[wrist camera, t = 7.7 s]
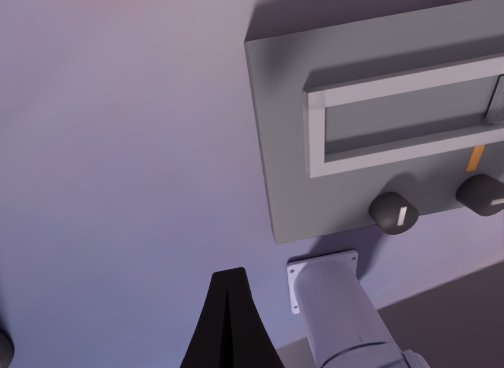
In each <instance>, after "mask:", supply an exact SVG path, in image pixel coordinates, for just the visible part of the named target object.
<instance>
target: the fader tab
mask: <svg viewBox="0 0 504 368" xmlns="http://www.w3.org/2000/svg"><path fill="white" fill-rule="evenodd" d="M485 121H486V122H490V123H494V124H497V125H501V126H504V76H501V78H500V81H499V83H498V86H497V89H496V91H495V94H494V97H493V99H492V102H491V105H490V108H489V110H488V113H487V116H486V118H485Z"/></svg>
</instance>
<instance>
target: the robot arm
mask: <svg viewBox="0 0 504 368" xmlns="http://www.w3.org/2000/svg"><path fill="white" fill-rule="evenodd" d="M357 261H358V252H357V251H356V250H350V251H345V252H340V253H335V254H330V255H326V256H321V257H316V258H311V259H306V260H301V261H296V262H291V263H288V264H287V275H288V284H289V292H290V301H291V309H292V313H294V314H297V313H300V314H301V317H302V321H303V324H304V327H305V331H306V334H307V337H308V341H309V344H310V347H311V351H312V354H313V357H314V360H315V364H316V367H317V368H430V367H429V366H428V364H427V363H426V361H425V360H424V358H423V357H422V356H420V355H419V354H416V353H413V352H412V351H411V350H407V351H404V353H403V352H402V351H401V350H400V349H399V347H398V346H397V345H396V343H395V341H394V340H393V338H392V336H391V335H390V333H389V332H388V330H387V328H386V326H385V324H384V323H383V321H382V320H381V318H380V316H379V314H378V313H377V311H376V309H375V308H374V306H373V304H372V303H371V301H370V299H369V298H368V296H367V294H366V292H365V291H364V289H363V287H362V286H361V284H360V282H359V281H358V279H357V277H356V269H357ZM180 368H285V367H284V365H283V363H282V362H281V360H280V358H279V356H278V354H277V352H276V350H275V348H274V346H273V344H272V342H271V340H270V338H269V336H268V334H267V332H266V330H265V328H264V326H263V323H262V321H261V319H260V316H259V314H258V312H257V309H256V307H255V304H254V302H253V299H252V294H251V290H250V286H249V282H248V279H247V275H246V271H245V268H243V267H239V268H234V269H229V270H224V271H219V272H214V273H213V275H212V278H211V282H210V286H209V290H208V293H207V297H206V300H205V303H204V306H203V309H202V312H201V315H200V318H199V321H198V324H197V326H196V329H195V332H194V334H193V337H192V339H191V342H190V344H189V347H188V349H187V352H186V354H185V357H184V359H183V361H182V364H181V366H180Z"/></svg>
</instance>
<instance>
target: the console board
mask: <svg viewBox="0 0 504 368" xmlns="http://www.w3.org/2000/svg"><path fill="white" fill-rule="evenodd" d="M244 45H245V52H246V59H247V66H248V72H249V79H250V86H251V93H252V99H253V106H254V113H255V120H256V127H257V133H258V140H259V147H260V154H261V160H262V167H263V174H264V181H265V187H266V194H267V201H268V208H269V215H270V221H271V228H272V233H273V236H274V240H275V243H276V245H277V244H282V243H287V242H291V241H296V240H301V239H306V238H311V237H316V236H321V235H326V234H331V233H336V232H341V231H346V230H351V229H356V228H361V227H366V226H371V225H376V224H378V226H379V227H380V228H381V229H382V230H383V231H384V232H385V233H387V234H390V235H396V234H400V233H403V232H405V231H407V230H408V229H410V228H411V227H412V226H413V225H414V224H415V223H416V221H417V219H418V216H421V215H426V214H431V213H436V212H441V211H446V210H451V209H456V208H461V207H468V208H469V209H471V210H473V211H474V212H476V213H477V214H479V215H481V216H490V215H493V214H496V213H498V212H499V211H501V210H503V209H504V126H501V125H497V124H494V123H490V122H486V121H485V118H486V116H487V113H488V110H489V108H490V105H491V102H492V99H493V97H494V94H495V91H496V89H497V86H498V83H499V81H500V78H501V76H504V0H472V1H466V2H461V3H455V4H450V5H444V6H439V7H433V8H428V9H422V10H417V11H411V12H406V13H400V14H395V15H389V16H384V17H378V18H373V19H367V20H362V21H356V22H351V23H345V24H340V25H334V26H329V27H323V28H318V29H312V30H307V31H301V32H296V33H290V34H285V35H279V36H274V37H268V38H263V39H257V40H252V41H247V42H244Z"/></svg>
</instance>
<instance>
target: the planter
mask: <svg viewBox="0 0 504 368" xmlns="http://www.w3.org/2000/svg"><path fill="white" fill-rule="evenodd" d="M12 357H13V351H12V347H11V345H10V343H9V341H8V339H7V338H6V337H5V335H4V334H3V333H2V332H1V331H0V368H8V367H9V365H10V363H11V361H12Z"/></svg>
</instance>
